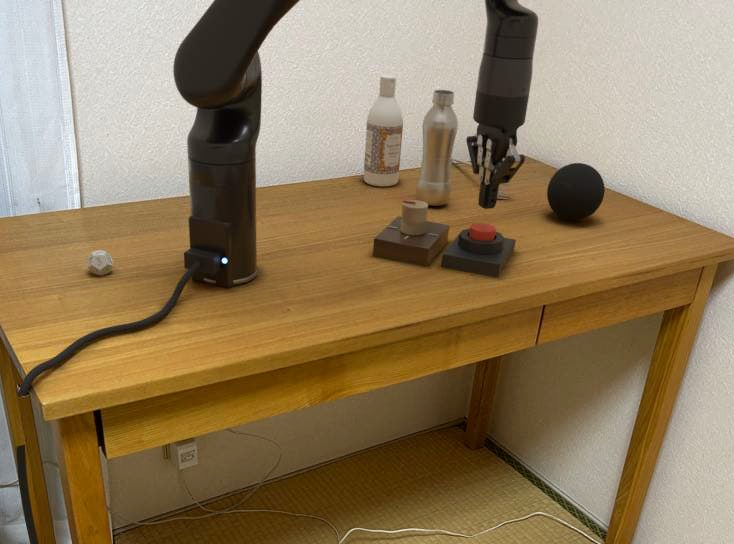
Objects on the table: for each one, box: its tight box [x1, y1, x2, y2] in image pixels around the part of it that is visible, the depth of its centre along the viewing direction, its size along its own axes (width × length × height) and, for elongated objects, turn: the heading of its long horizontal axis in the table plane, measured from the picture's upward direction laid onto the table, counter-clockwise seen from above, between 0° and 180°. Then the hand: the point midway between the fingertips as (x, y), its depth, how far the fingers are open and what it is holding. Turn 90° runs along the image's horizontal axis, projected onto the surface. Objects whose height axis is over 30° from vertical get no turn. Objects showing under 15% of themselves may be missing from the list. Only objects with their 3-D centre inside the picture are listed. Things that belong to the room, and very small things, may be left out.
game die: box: [86, 249, 114, 276], centre depth 118 cm, size 4×4×3 cm
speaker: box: [546, 162, 605, 221], centre depth 148 cm, size 10×10×10 cm
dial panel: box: [372, 215, 450, 268], centre depth 132 cm, size 12×9×3 cm
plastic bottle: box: [415, 89, 459, 207], centre depth 148 cm, size 6×7×20 cm
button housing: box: [441, 227, 517, 279], centre depth 130 cm, size 12×9×4 cm
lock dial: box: [400, 199, 429, 235], centre depth 130 cm, size 4×4×5 cm
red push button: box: [469, 222, 497, 241], centre depth 129 cm, size 4×4×2 cm
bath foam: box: [363, 74, 404, 188], centre depth 158 cm, size 7×7×20 cm
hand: (486, 206), depth 126 cm, fingers closed
